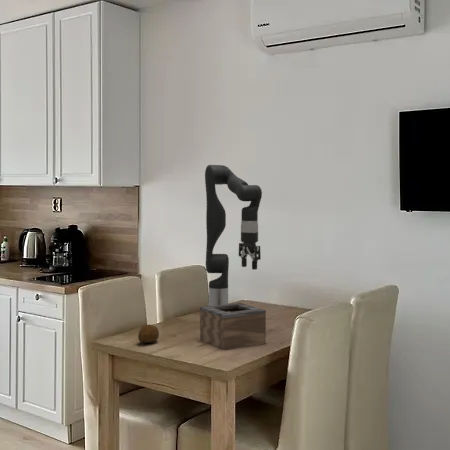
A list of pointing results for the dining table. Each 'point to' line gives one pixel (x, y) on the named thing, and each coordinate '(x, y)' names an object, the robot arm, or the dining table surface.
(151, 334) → the potato
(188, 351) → the dining table surface
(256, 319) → the slot box
